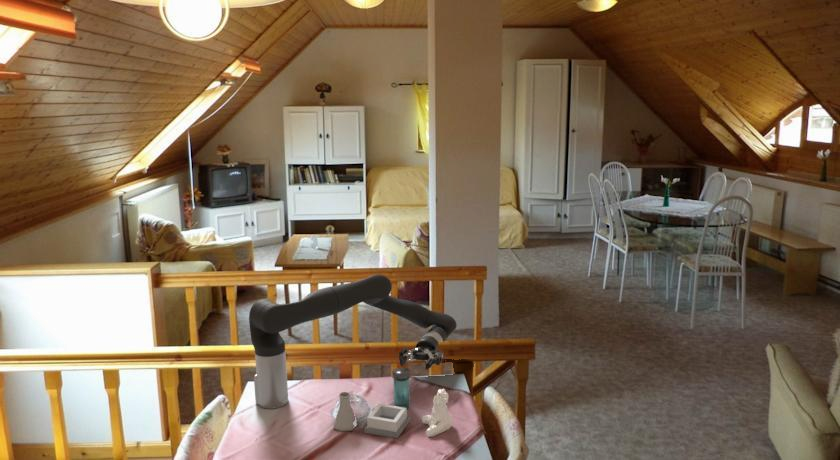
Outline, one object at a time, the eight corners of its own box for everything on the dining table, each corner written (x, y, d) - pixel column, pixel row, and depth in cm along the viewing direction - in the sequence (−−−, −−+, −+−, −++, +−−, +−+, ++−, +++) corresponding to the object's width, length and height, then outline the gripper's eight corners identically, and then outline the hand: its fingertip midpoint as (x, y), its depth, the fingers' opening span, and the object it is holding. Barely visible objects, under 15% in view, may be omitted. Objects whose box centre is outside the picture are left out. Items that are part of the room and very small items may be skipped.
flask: (353, 433, 181) (352, 401, 178) (329, 430, 182) (328, 399, 180) (361, 420, 187) (360, 389, 185) (337, 418, 189) (336, 387, 187)
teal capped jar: (390, 410, 193) (389, 374, 190) (396, 402, 198) (395, 366, 196) (407, 413, 191) (406, 376, 189) (413, 404, 196) (412, 369, 194)
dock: (364, 432, 181) (364, 418, 180) (378, 415, 190) (377, 402, 189) (397, 438, 177) (397, 423, 176) (409, 421, 187) (409, 407, 186)
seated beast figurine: (420, 421, 187) (420, 383, 184) (449, 418, 188) (449, 380, 186) (427, 437, 178) (426, 398, 175) (456, 434, 179) (456, 395, 177)
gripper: (409, 333, 220) (393, 351, 205) (449, 337, 215) (434, 356, 200) (410, 353, 221) (393, 372, 206) (449, 357, 217) (435, 378, 202)
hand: (414, 364), depth 203 cm, fingers open, 8 cm apart
